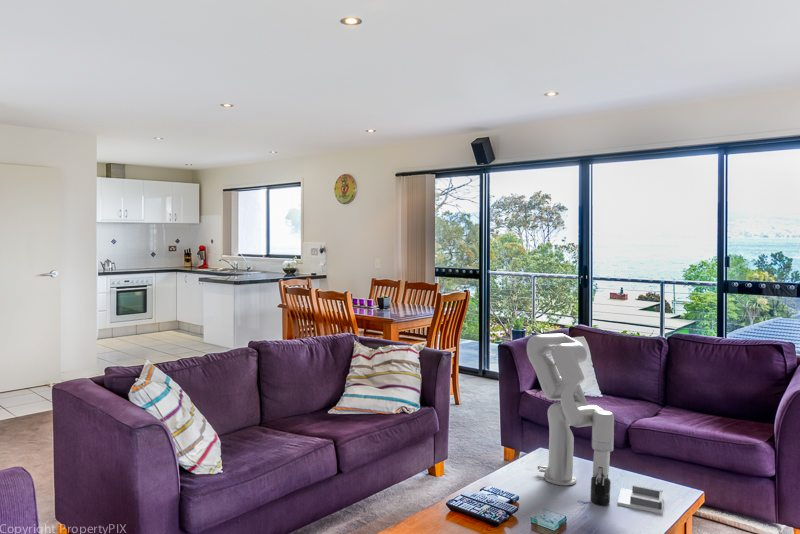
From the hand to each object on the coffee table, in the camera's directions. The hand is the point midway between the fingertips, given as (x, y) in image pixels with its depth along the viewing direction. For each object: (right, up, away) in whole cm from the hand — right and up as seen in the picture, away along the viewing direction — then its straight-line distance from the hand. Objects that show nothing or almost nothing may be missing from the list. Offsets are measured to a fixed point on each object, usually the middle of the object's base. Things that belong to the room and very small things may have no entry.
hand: (601, 490), depth 213 cm
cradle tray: (+15, -5, +2) cm, 16 cm away
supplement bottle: (0, -5, +1) cm, 5 cm away
